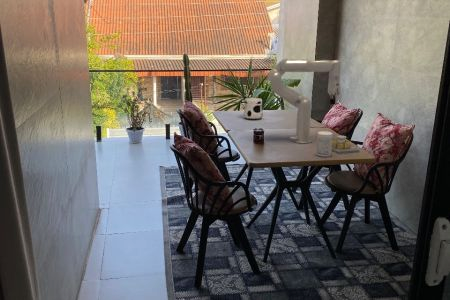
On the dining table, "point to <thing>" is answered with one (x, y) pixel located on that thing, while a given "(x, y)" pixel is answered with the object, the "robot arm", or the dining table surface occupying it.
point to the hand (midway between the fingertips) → (332, 104)
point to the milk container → (253, 108)
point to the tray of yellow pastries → (339, 151)
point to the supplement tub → (324, 144)
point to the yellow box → (341, 146)
